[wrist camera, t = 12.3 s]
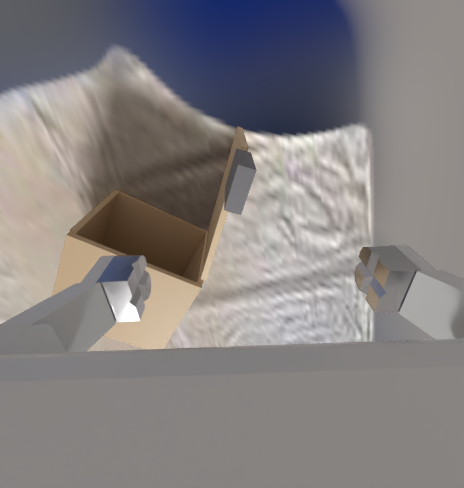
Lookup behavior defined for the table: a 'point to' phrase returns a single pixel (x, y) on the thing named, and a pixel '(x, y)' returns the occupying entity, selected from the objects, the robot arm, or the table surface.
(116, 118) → the table surface
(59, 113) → the table surface
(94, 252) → the carton
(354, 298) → the table surface
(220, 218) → the carton flap
